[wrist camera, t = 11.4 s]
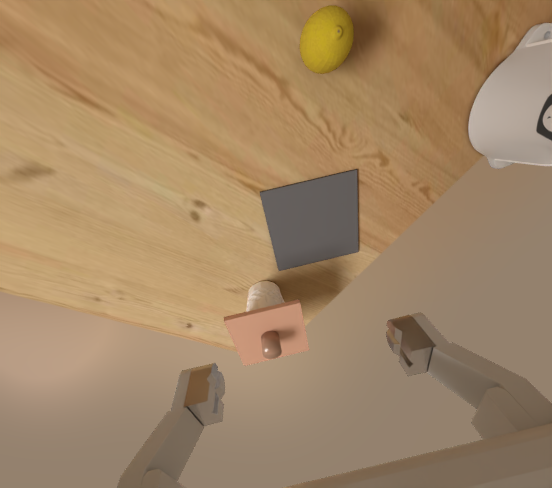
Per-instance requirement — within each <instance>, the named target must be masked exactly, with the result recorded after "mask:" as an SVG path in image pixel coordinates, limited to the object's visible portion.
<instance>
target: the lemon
mask: <svg viewBox="0 0 552 488" xmlns="http://www.w3.org/2000/svg"><path fill="white" fill-rule="evenodd" d="M353 36H354V29H353V23H352V20H351V18H350V16H349V15H348V13H347V12H346V11H345V10H344V9H342V8H341V7H338V6H326V7H323V8H320V9H319V10H318V11H316V12H315V13H313V14H312V16H311V17H310V18H309V19H308V21H307V22H306V24H305V26H304V28H303V31H302V34H301V38H300V53H301V57H302V60H303V62H304V63H305V65H306V66H307V67H308V68H309V69H310V70H311V71H313V72H315V73H320V74H324V73H329V72H331V71H333V70H335V69H336V68H338V67H339V66H340V65H341V64H342V63H343V62H344V60H345V59H346V57H347V56H348V54H349V52H350V49H351V47H352V43H353Z"/></svg>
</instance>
